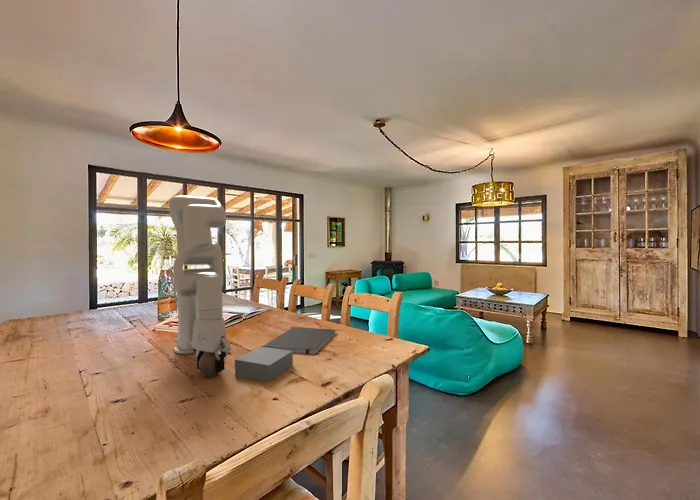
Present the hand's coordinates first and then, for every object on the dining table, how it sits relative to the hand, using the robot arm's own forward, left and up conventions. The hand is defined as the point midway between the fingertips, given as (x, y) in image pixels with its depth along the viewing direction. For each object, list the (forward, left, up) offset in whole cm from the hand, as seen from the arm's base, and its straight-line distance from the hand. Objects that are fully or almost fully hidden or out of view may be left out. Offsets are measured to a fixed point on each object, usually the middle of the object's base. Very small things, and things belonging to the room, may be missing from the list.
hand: (210, 369), depth 100 cm
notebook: (+10, +40, -3) cm, 41 cm away
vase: (0, 0, -2) cm, 2 cm away
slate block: (+14, +9, -2) cm, 17 cm away
